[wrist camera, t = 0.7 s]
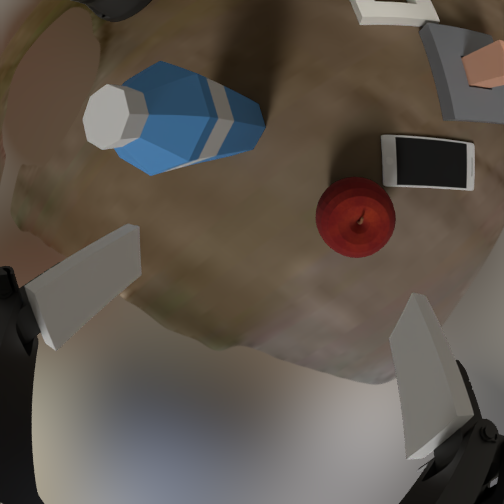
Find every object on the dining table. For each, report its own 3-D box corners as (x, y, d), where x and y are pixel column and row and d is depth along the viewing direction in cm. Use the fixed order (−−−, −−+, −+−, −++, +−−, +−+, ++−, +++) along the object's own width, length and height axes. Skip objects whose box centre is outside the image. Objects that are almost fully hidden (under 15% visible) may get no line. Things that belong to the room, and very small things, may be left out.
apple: (382, 237, 36) (398, 267, 27) (318, 238, 39) (316, 269, 30) (382, 171, 32) (403, 182, 24) (314, 172, 35) (312, 183, 26)
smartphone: (379, 134, 31) (381, 134, 30) (471, 142, 27) (474, 143, 26) (381, 185, 34) (383, 186, 33) (471, 189, 29) (474, 191, 29)
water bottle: (238, 80, 32) (118, 20, 10) (279, 129, 34) (202, 111, 12) (190, 122, 36) (47, 126, 14) (228, 169, 38) (104, 220, 15)
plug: (450, 63, 22) (501, 38, 9) (470, 66, 21) (524, 46, 8) (457, 88, 24) (513, 73, 11) (477, 90, 23) (534, 79, 10)
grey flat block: (418, 31, 22) (427, 22, 18) (479, 41, 18) (491, 35, 15) (443, 120, 27) (455, 119, 23) (500, 124, 23) (514, 124, 20)
